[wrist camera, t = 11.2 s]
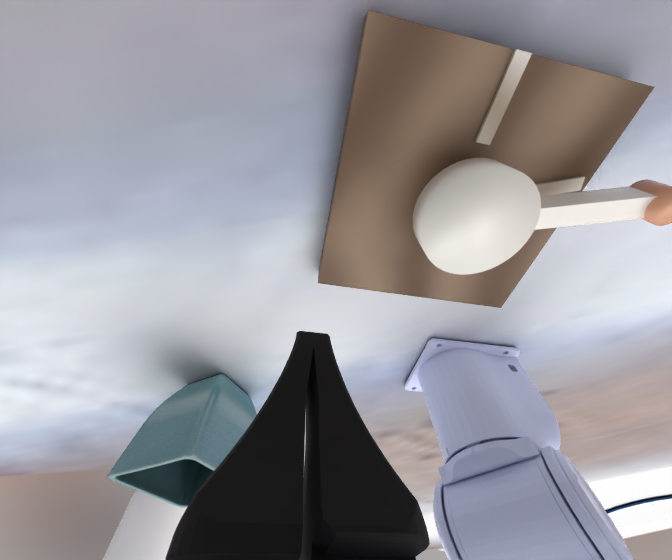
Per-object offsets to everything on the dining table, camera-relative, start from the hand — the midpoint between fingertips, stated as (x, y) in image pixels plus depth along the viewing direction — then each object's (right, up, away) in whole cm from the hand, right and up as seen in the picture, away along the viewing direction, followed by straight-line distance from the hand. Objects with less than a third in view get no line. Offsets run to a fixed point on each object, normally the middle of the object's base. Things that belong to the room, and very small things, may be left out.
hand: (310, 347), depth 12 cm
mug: (-25, -31, +34) cm, 53 cm away
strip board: (+9, +9, +6) cm, 14 cm away
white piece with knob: (+12, +7, +4) cm, 15 cm away
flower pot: (-12, -9, +19) cm, 24 cm away
